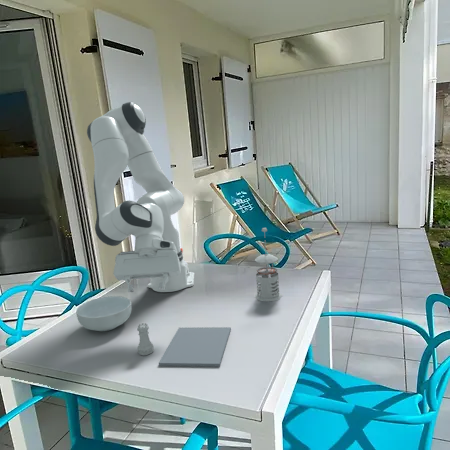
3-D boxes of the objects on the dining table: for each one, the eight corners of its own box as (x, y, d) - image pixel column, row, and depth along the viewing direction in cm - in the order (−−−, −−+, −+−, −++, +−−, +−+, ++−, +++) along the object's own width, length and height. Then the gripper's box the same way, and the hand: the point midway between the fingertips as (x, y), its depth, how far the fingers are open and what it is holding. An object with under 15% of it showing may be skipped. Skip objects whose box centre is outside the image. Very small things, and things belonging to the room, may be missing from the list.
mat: (179, 329, 124) (179, 327, 124) (230, 329, 121) (230, 327, 121) (158, 365, 105) (158, 362, 105) (219, 366, 102) (219, 363, 102)
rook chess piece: (147, 346, 116) (144, 320, 114) (157, 350, 113) (154, 324, 111) (134, 352, 113) (131, 326, 111) (144, 357, 109) (140, 330, 108)
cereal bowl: (82, 343, 120) (78, 321, 119) (76, 323, 135) (73, 303, 134) (138, 329, 127) (136, 307, 126) (127, 310, 142) (125, 291, 141)
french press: (252, 300, 142) (247, 231, 137) (258, 288, 153) (254, 223, 148) (280, 302, 139) (276, 230, 134) (285, 289, 150) (281, 223, 145)
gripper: (113, 247, 126) (108, 288, 119) (178, 242, 126) (178, 283, 118) (119, 257, 131) (114, 297, 124) (181, 252, 131) (181, 291, 123)
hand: (146, 290), depth 121 cm, fingers open, 8 cm apart
